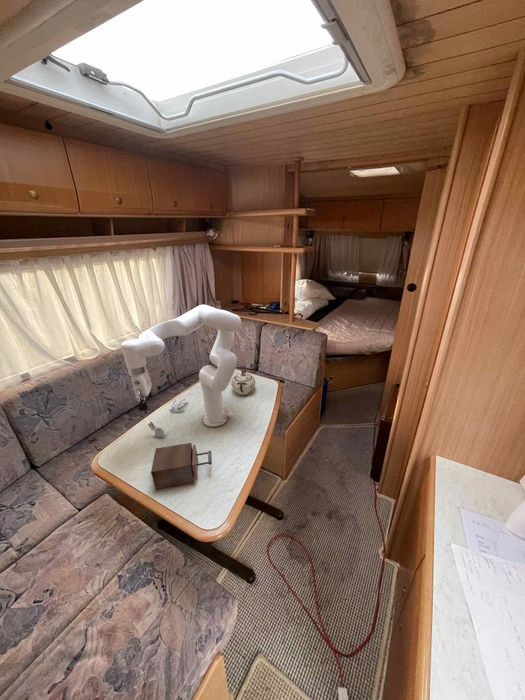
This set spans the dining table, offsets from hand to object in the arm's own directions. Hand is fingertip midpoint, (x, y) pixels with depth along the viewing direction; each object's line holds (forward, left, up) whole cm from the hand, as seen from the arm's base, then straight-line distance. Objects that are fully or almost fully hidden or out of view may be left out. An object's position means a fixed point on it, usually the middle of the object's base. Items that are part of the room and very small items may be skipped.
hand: (146, 403), depth 119 cm
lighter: (+1, -8, -25) cm, 27 cm away
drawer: (-16, +18, -24) cm, 34 cm away
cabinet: (-10, +19, -25) cm, 33 cm away
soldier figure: (-8, -29, -25) cm, 40 cm away
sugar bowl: (-47, -38, -25) cm, 66 cm away
